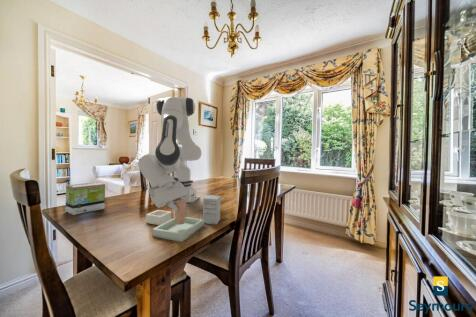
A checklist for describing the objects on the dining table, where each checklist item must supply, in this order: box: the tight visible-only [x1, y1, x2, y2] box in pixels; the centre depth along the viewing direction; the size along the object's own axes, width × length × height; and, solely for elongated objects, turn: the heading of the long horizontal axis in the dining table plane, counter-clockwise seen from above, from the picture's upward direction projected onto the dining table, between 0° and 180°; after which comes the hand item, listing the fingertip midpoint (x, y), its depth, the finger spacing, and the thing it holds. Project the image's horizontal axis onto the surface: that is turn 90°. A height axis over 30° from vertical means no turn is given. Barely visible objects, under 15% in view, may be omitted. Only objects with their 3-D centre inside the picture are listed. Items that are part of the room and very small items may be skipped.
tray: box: [152, 216, 205, 243], centre depth 88 cm, size 18×14×3 cm
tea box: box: [64, 181, 106, 216], centre depth 111 cm, size 15×10×15 cm, turn 151°
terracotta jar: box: [174, 199, 187, 225], centre depth 88 cm, size 4×4×10 cm
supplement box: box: [202, 194, 222, 225], centre depth 101 cm, size 7×7×13 cm
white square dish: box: [145, 209, 172, 226], centre depth 99 cm, size 8×8×4 cm
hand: (181, 208), depth 88 cm, fingers closed on terracotta jar, 4 cm apart
